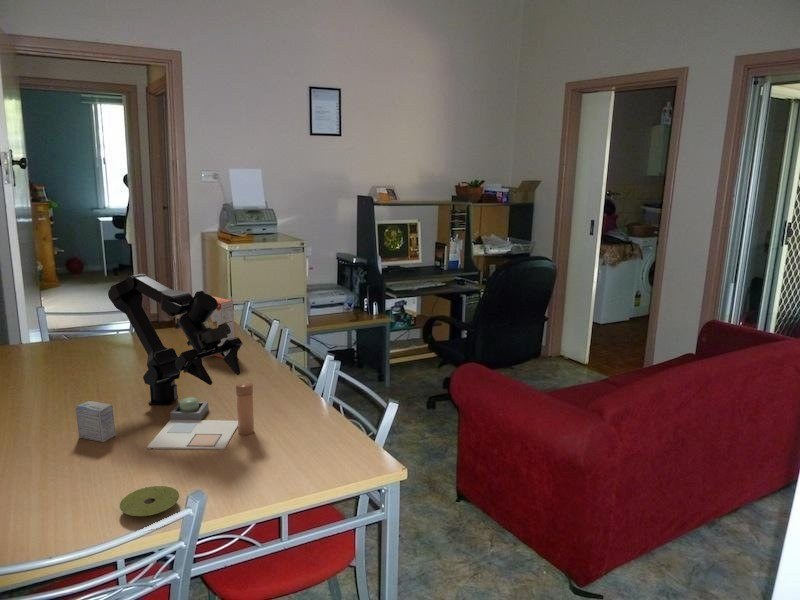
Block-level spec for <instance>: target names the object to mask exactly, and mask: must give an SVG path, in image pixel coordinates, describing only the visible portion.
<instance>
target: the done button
mask: <svg viewBox="0 0 800 600" xmlns="http://www.w3.org/2000/svg"><path fill="white" fill-rule="evenodd" d="M179 402H180V412H197V411H198V410H199V402H200V401H199V399H198V398H197V397H191V396H190V397H186V398H185V397H184V398H182V399H180V401H179Z"/></svg>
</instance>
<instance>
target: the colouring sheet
mask: <svg viewBox="0 0 800 600" xmlns="http://www.w3.org/2000/svg"><path fill="white" fill-rule="evenodd" d="M236 430H238V420H219V419H218V420H215V419H214V420H213V419H211V420H208V419H204V420H202V419H201V420H170V419H169V421H168V422H167V423H166V424H165V425H164V427H163V428H162V429H161V430H160V431H159V432H158V434H157V435H156V436H155V437H153V439H152V441H151V442H149V444H148V445H147V446H146V449H151V448H153V449H159V450H161V449H162V450H163V449H164V450H171V449H172V450H225V449H226V447H227V446H228V444H229V443H230V441H231V439H232V437H233V435H234V434H235V432H236Z"/></svg>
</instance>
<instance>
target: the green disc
mask: <svg viewBox="0 0 800 600" xmlns="http://www.w3.org/2000/svg"><path fill="white" fill-rule="evenodd" d="M179 498H180V493H179V491H178V490H177V489H176V488H173V487H172V486H166V485H155V486H147V487H143V488H140V489H136V490H134V491H133V492H130V493H129V494H127V495H126V496H125V497H123V498H122V499H121V500H120V502H119V509H120V511H121V512H122V513H124V514H125V515H127V516H132V517H147V516H152V515H153V516H154V515H157V514H160V513H162V512H165V511H167V510H169V509H170V508H172V507H173V506H175V504H176V503H177V502H178V500H179Z"/></svg>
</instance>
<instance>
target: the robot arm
mask: <svg viewBox="0 0 800 600" xmlns="http://www.w3.org/2000/svg"><path fill="white" fill-rule="evenodd" d="M107 293H108V294H107V295H108V299H109V300H110V302H111V303H112V304H113V306H114V307H115V309H116V310H119V312H122V313H123V314H125V315H126V318H127V319H128V321H129V323H130V324H131V326H132V328H133V330H134V331H135V333H136V334H135V335H136V336H137V337H138V338H137V339H138V340H139V342H140V343H141V345H142V346H143V349H144V350H145V352H146V354H147V358H146V360H147V361H146V367H147V370H146V372H145V373H144V375H142V378H143V381H144V384H145V385H149V393H150V394H149V395H150V400H149V401H148V405H153V406H154V405H158V406H159V405H160V406H161V405H162V406H163V405H164V406H166V405H167V406H169V405H172V404H173V403H174V402H175V401H176V400H177V399H178V397H179V395H178V384H176V380H179V379H180V376H181V372H183V373H184V374H185V373H187V374H189V375H191V376H193V377H195V378H197V379H199V380H201V381H202V382H204V383H206V385H208V386H212V385H213V380H212V378H211V376H210V374H209V373H208V371H207V370H206V368H205V367H204V364H203V359H206V358H209V357H213V355H217V354H221V355H222V356H224V359H223V358H222V359H223V361H224V363H226V364H227V366H228V367H229V368H230V369H231V370H232V372H233V373H234V374H235V375H237V376H240V374H241V370H240V364H239V359H238V353H239V350H240V349H241V347H242V346H243V342H242V339H241V338H240V337H237V336H235V337H234V338H230V339H227V340H226V341H225V342H224V343H223V345H222V346H218V344H220V343H221V339H223V338H227V337H228V336H227V335H228V334H230V333H231V330H230V327H229V326H228V324H227V323H223V324H221V325H218V328H215V329H212V328H207V327H206V326H205V324H204V323H203V322H206V321H207V320H208V319H209V318H210V316H211V315H212V314H213V312H214V311H215V310H216V308H217V307H218V303H217V300H216V299H215V298H213V297H212V296H213V295H210V294H208V293H206V292H204V290H199V291H196V292H195V293H194V296H193V295H192V294H191V293H190V292H187V291H184V290H178V289H171V288H169V287H168V286H165V285H163V284H162V283H160V282H158V281H156V280H154V279H152V278H151V277H149V276H148V275H147V274H145V273H136V274H132V275H130V276H128V277H126V278H125V279H124V280H122V281H120V282H118V283H115V284H113V285H111V286H110V289H108V292H107ZM143 295H144V296H146V297H148V298H150V299H151V300H153V301H155V302H156V303H158V304H159V305H160V309H161V310H162V311H163V312H164V313H165V314H166V315H168V316H169V317H176V316H180V317H179V318H176V322H175V325H174V329H175V330H179V329H181V330H182V332H183V334H184V335H185V337H186V338H187V340H188V341H186V345H187V346H188V347H190V346H191V347H192V349H188V350H185V351H182V352H181V353H180V354H179V355H178V354H177V353H176V350H175V349H174V348H173V347H171V348H167V347H166V346H165V345H164V344H163V342H162V340H161V338H160V336H159V335H158V333H157V331H156V329H155V327H154V325H153V324H152V322H151V320H150V318H149V316H148V315H147V313H146V311H145V309H144V307H143V299H144V296H143Z"/></svg>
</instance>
